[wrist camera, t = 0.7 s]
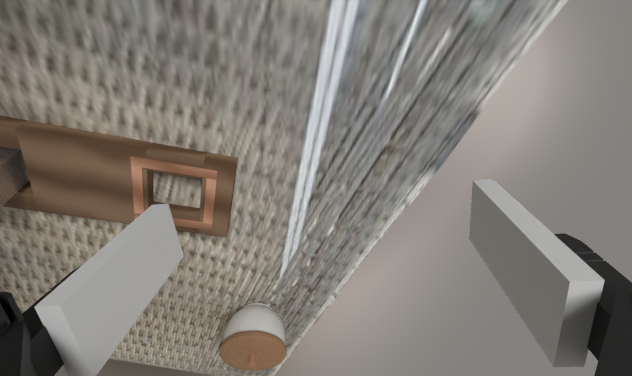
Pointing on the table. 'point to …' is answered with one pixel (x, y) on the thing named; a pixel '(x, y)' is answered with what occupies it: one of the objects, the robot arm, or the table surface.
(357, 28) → the table surface
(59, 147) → the walnut rail
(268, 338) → the lidded jar
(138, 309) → the robot arm
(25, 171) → the steel block
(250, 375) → the table surface
